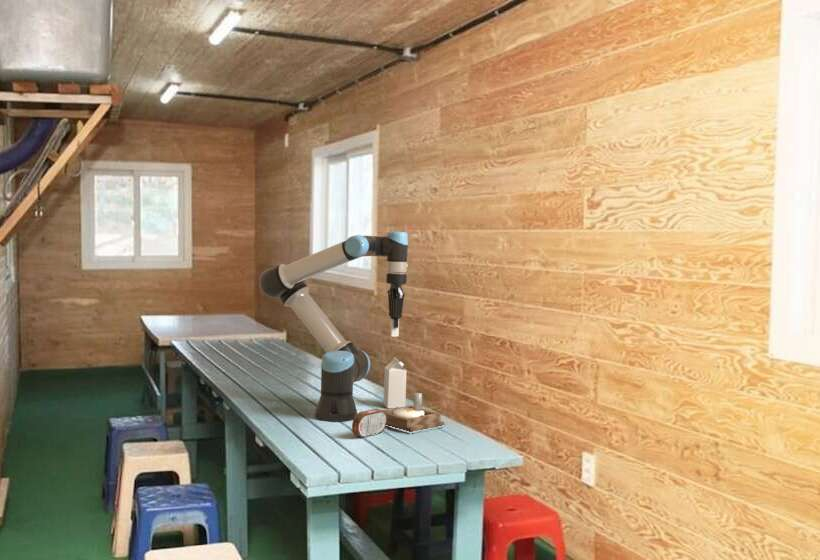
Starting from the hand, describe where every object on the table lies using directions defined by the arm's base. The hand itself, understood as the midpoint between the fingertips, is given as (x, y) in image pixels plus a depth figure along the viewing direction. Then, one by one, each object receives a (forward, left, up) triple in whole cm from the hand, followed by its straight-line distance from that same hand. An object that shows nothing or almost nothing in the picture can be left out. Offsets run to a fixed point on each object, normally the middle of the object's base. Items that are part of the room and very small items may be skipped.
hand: (394, 336), depth 284 cm
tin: (-26, -19, -30) cm, 44 cm away
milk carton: (+9, +9, -30) cm, 32 cm away
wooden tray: (-6, -16, -29) cm, 34 cm away
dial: (-6, -16, -27) cm, 32 cm away
